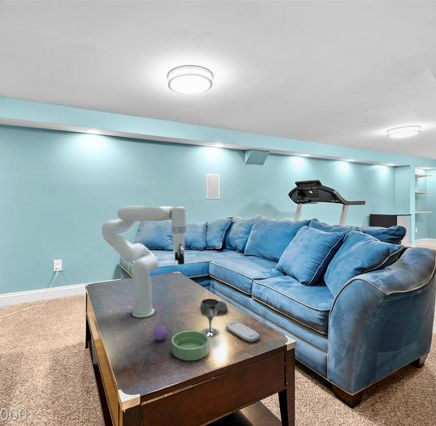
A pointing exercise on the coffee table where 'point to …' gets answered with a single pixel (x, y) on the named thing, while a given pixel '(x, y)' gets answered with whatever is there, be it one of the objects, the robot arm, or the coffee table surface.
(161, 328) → the ball
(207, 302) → the wine glass
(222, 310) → the media streaming box
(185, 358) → the bowl
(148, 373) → the coffee table surface
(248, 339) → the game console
